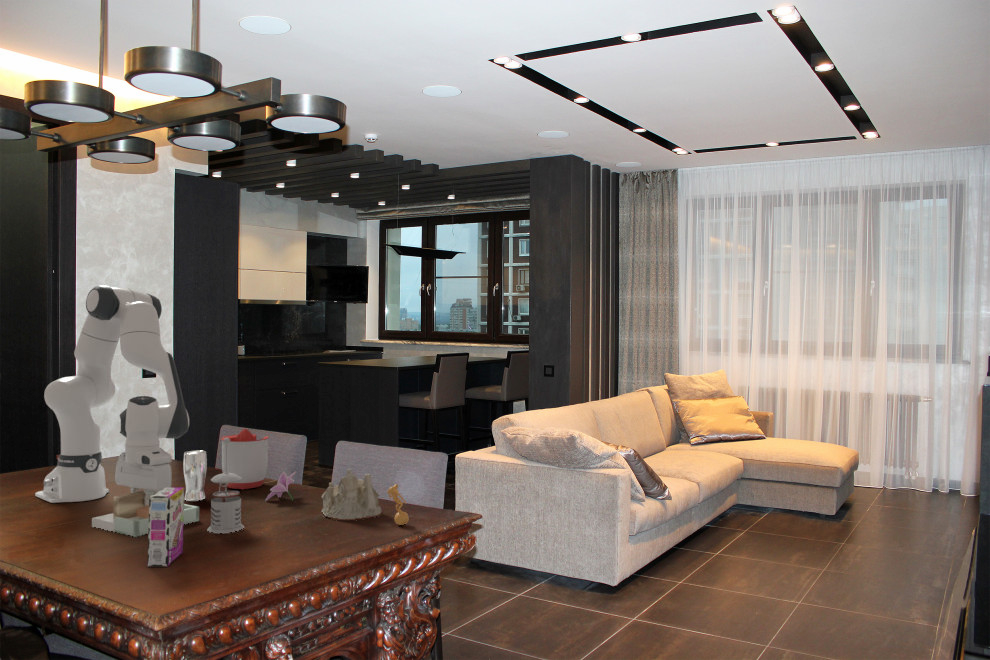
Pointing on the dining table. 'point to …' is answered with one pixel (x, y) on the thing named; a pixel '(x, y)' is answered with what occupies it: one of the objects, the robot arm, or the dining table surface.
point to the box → (142, 525)
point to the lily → (281, 485)
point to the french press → (226, 504)
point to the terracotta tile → (143, 512)
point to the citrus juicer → (245, 459)
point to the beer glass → (195, 474)
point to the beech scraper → (128, 504)
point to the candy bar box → (165, 526)
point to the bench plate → (108, 521)
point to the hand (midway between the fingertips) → (142, 504)
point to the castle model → (351, 498)
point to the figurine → (401, 516)
